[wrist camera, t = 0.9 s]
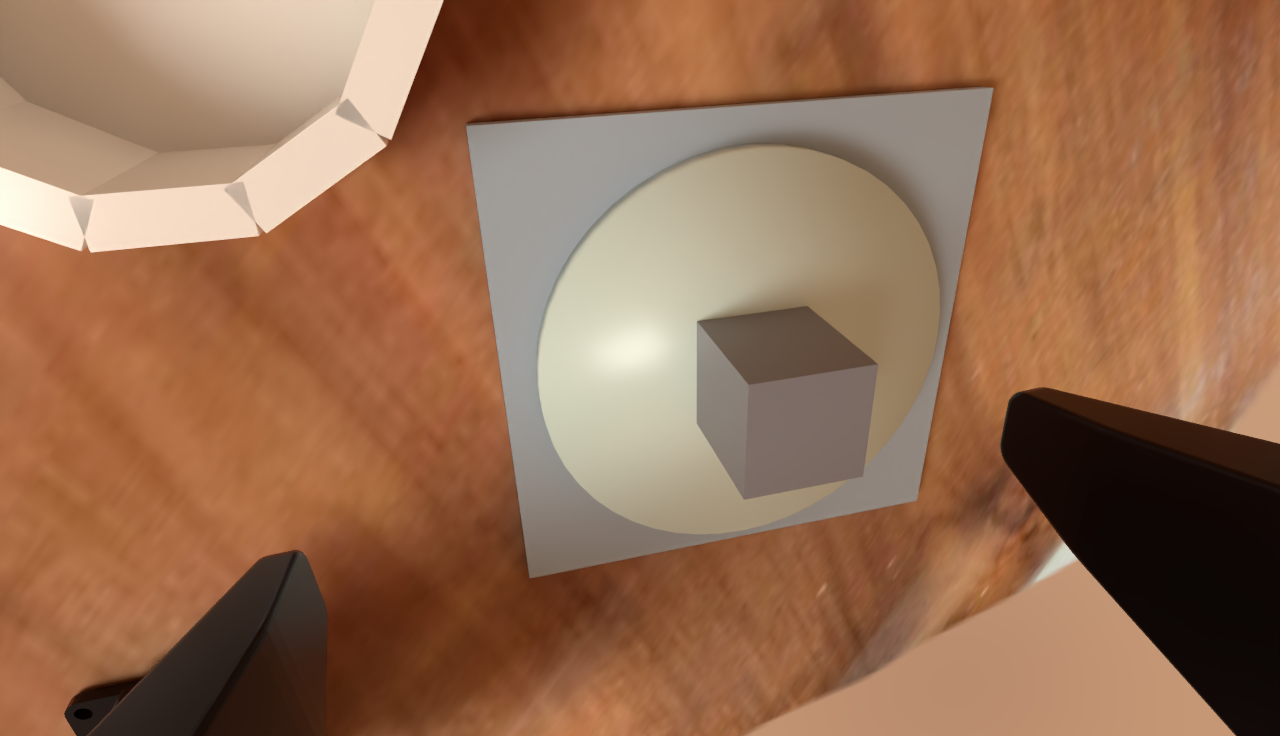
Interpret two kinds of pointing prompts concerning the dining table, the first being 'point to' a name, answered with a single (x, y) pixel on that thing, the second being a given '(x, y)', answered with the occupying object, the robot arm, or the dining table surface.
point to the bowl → (193, 111)
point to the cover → (737, 338)
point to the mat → (633, 152)
